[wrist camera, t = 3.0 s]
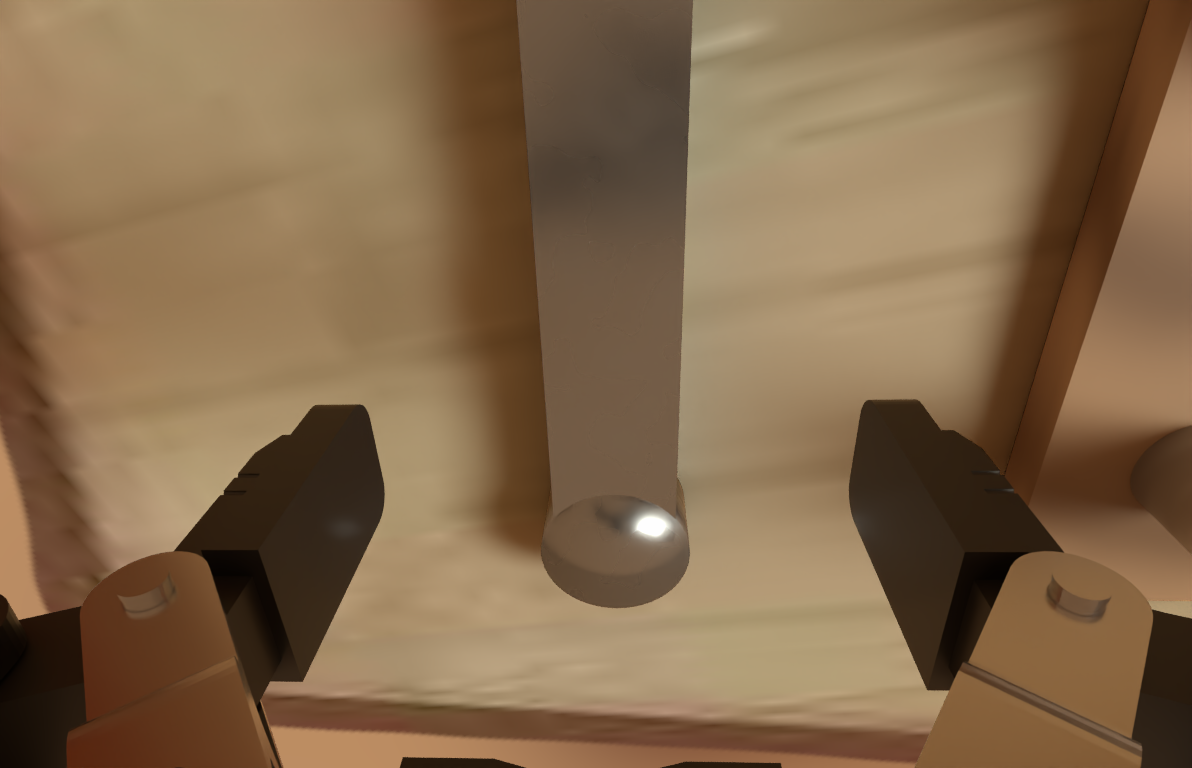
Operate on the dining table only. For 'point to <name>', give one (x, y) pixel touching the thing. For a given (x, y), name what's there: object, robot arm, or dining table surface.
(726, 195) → the dining table surface
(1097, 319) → the peg stand
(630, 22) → the grey knobbed bar
